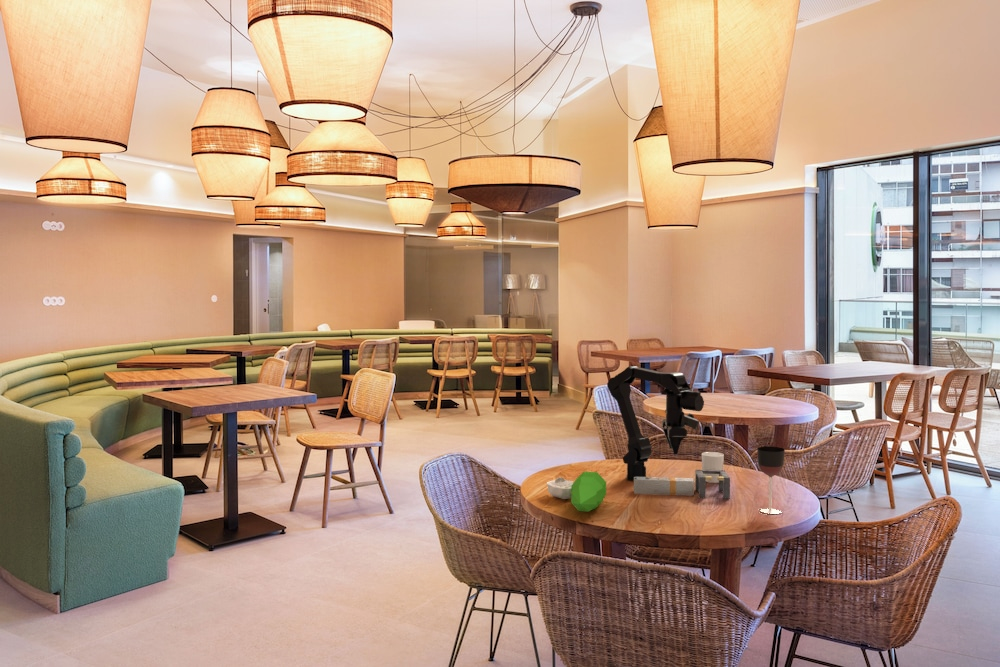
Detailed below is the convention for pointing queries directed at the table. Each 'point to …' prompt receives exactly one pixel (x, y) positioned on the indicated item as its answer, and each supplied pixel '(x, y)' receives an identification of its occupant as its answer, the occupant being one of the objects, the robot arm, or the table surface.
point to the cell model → (560, 488)
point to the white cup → (712, 464)
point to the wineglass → (770, 468)
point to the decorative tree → (588, 491)
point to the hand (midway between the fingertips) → (673, 451)
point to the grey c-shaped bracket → (701, 479)
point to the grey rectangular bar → (663, 486)
